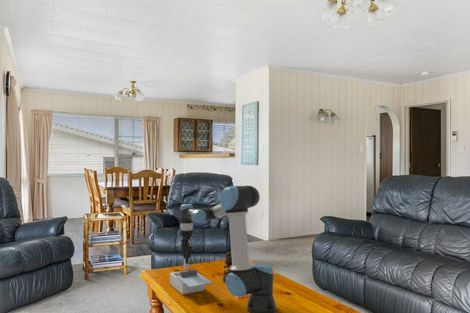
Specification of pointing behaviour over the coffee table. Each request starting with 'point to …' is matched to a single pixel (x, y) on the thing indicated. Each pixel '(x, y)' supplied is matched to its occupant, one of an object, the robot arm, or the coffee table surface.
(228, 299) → the coffee table surface
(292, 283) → the coffee table surface
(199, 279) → the lid
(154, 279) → the coffee table surface
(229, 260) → the music box
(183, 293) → the box
